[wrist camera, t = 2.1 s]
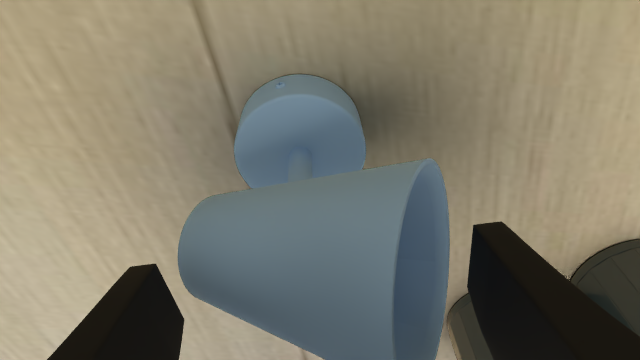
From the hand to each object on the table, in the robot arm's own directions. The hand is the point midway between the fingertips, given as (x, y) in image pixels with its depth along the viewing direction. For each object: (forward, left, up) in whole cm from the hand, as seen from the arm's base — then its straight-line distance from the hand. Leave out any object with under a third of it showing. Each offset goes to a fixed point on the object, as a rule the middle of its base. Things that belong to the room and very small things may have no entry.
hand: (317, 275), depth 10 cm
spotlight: (0, 0, -7) cm, 7 cm away
